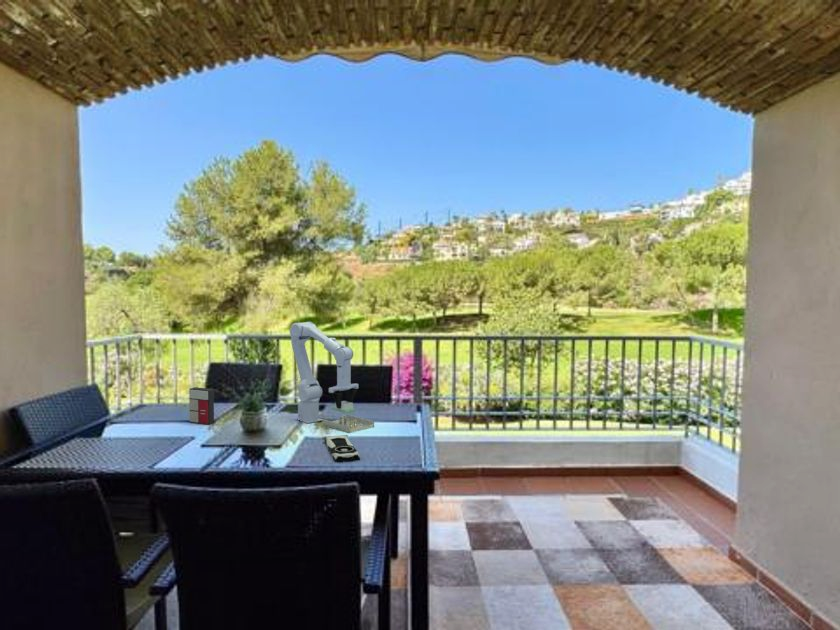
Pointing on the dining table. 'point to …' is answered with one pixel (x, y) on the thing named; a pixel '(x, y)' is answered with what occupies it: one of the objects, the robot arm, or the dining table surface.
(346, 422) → the chassis
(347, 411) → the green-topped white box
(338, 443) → the graphics card
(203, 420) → the toy cabinet
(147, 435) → the dining table surface
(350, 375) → the robot arm
